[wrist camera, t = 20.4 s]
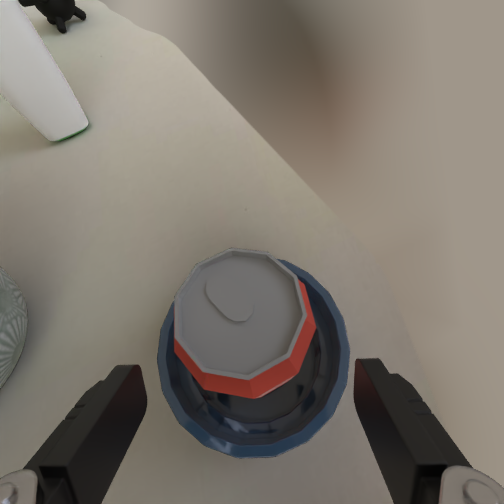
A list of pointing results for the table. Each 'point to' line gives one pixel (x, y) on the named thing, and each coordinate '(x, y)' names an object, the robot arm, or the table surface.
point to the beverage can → (242, 323)
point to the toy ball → (56, 11)
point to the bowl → (272, 404)
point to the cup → (35, 78)
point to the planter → (11, 325)
